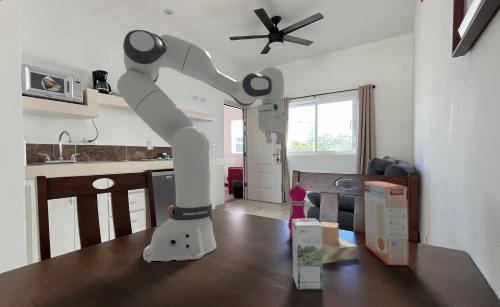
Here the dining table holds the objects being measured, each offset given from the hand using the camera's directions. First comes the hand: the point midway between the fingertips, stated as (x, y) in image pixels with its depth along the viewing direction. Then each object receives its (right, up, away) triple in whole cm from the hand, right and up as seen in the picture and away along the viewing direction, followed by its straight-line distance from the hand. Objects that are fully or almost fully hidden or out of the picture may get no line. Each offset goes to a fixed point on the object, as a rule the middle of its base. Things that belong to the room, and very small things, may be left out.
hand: (274, 143), depth 97 cm
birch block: (+14, -34, -24) cm, 44 cm away
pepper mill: (+8, -34, -10) cm, 37 cm away
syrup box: (+4, -34, -41) cm, 54 cm away
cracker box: (+30, -34, -27) cm, 52 cm away
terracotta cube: (+14, -30, -24) cm, 41 cm away
